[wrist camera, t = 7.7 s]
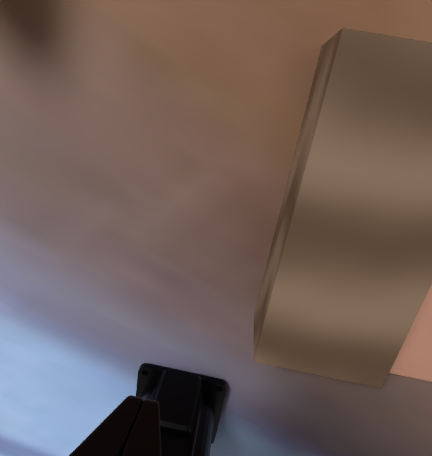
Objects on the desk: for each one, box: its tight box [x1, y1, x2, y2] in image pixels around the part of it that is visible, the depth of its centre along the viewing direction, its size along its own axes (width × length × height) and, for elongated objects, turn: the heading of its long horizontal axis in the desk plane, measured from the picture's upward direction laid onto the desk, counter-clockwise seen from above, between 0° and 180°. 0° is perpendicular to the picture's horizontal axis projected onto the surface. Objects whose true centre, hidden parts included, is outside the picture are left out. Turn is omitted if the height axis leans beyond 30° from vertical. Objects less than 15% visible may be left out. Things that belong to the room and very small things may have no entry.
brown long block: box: [254, 28, 432, 388], centre depth 17 cm, size 16×7×4 cm, turn 171°
